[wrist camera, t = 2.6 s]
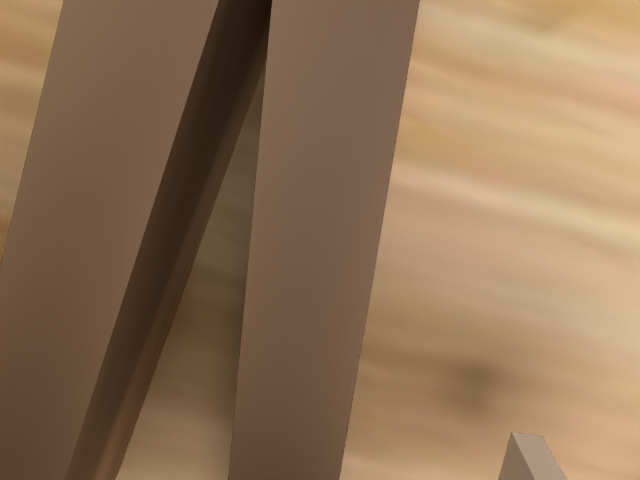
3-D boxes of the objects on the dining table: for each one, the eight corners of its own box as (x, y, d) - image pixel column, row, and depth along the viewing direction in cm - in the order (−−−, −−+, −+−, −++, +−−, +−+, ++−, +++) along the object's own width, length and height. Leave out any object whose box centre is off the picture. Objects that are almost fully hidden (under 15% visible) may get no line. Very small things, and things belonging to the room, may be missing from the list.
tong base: (185, 494, 18) (93, 752, 11) (232, -253, 12) (90, -707, 5) (307, 509, 19) (291, 775, 11) (418, -227, 12) (532, -641, 5)
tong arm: (61, 456, 18) (-99, 679, 11) (215, -36, 14) (98, -144, 7) (117, 476, 18) (-8, 705, 12) (288, -4, 14) (244, -78, 7)
